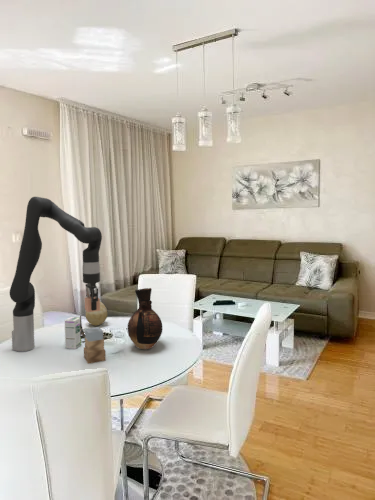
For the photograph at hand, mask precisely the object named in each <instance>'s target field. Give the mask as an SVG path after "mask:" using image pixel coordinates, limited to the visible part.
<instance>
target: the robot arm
mask: <svg viewBox="0 0 375 500" xmlns="http://www.w3.org/2000/svg"><path fill="white" fill-rule="evenodd" d="M25 213H26V214H25V221H24V222H25V224H24V228H23V230H24V231H23V235H22V240H21V243H20V249H19V253H18V258H17V262H16V267H15V268H16V269H15V271H14V272H15V273H14V277H13V279H12V282H11V285H10V289H9V297H10V299H11V300H12V302H14V303H15V305H14V308H13V310H12V325H13V329H12V330H11V347H12V351H15V352H28V351H31V350H33V349H35V347H36V346H35V322H34V320H35V317H34V314H35V313H34V311H35V306H36V305H35V304H36V303H35V302H36V291H35V287H34V285H33V284H32V282H30V281H31V278H32V274H33V272H34V270H35V268H36V266H37V264H38V263H39V259H40V257H41V252H42V249H43V248H42V247H43V242H42V239H41V238H42V237H41V235H40V232H39V223H40V218H48V219H51V220H54V221H55V222H57V224H59V226H60V227H61V228H62V229H64V231H66V232H68V233H70V234H72V235H73V236H74V237H75V238H76V239H77V240H78V241H79V242H80V243H82V244H87V247H86V248H84V249H83V250H82V282H83V283H84V284H85V294H86V296H85V297H86V298H87V297H90V298H91V310H96V309H97V305H96V302H97V301H98V298H99V288H98V286H97V283H98V284H99V283H100V282H101V272H100V270H101V267H100V253H99V252H100V250H101V245H102V239H103V238H102V237H103V236H102V231H101V230H100V228H98V227H96V226H91V227H86V225H85V223H84V222H83V221H82V220H80V219H78V218H76V217H75V216H73V215H71V214H69V213H67V212H66V211H64V210H63V209H62V208H61V207H59V206H58V204H56V203H55V202H53V201H52V200H51V199H49V198H45V197H41V196H32V197H30V198H29V200H28V203H27V207H26V212H25ZM94 297H95V299H94Z"/></svg>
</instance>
